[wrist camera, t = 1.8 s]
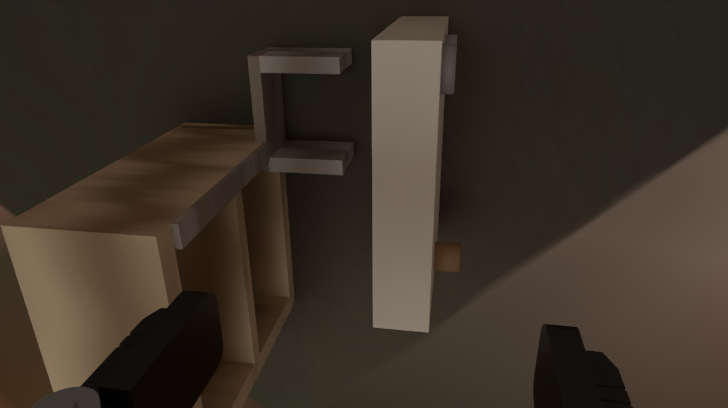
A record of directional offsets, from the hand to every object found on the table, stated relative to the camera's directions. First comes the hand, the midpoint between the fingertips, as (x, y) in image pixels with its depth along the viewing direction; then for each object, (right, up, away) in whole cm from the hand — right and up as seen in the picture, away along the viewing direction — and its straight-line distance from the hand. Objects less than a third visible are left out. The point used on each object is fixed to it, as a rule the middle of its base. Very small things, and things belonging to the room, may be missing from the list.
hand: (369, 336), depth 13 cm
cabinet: (-6, +4, +19) cm, 21 cm away
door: (+3, +7, +16) cm, 18 cm away
